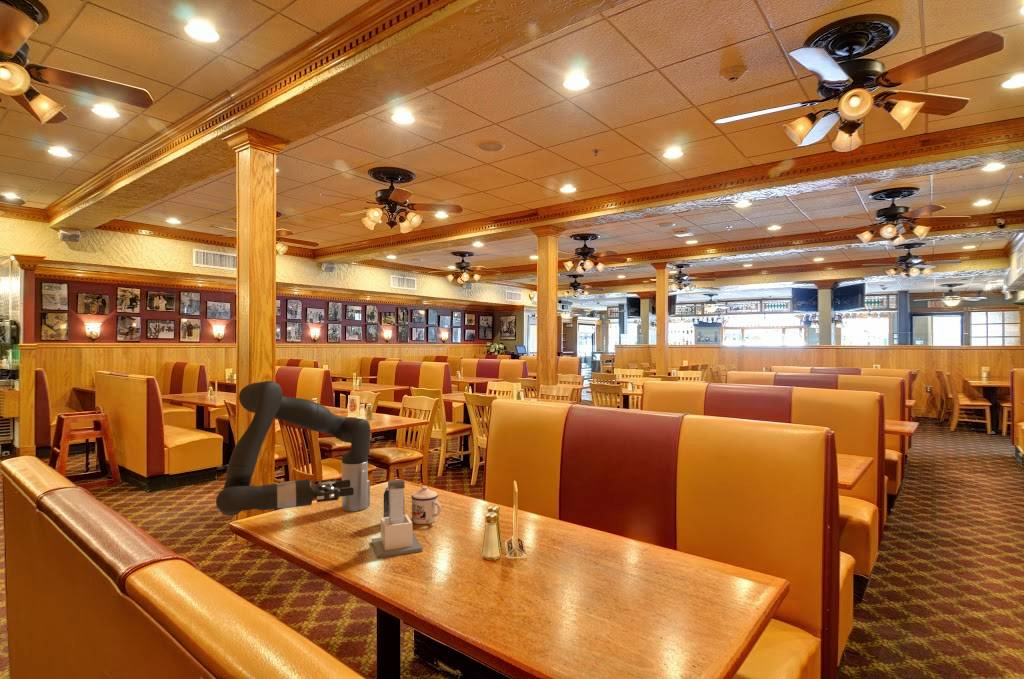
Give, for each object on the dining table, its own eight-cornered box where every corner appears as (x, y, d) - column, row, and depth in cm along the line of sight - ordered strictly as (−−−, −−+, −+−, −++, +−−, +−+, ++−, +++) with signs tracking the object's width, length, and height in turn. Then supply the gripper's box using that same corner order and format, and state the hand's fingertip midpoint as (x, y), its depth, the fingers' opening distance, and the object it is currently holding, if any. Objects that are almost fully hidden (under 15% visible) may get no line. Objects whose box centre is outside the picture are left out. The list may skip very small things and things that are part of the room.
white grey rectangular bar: (388, 539, 166) (387, 480, 165) (402, 537, 167) (402, 479, 167) (389, 542, 163) (389, 482, 163) (404, 540, 165) (404, 481, 164)
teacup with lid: (405, 521, 187) (405, 487, 187) (424, 514, 195) (424, 481, 194) (431, 528, 180) (431, 493, 180) (449, 520, 188) (449, 487, 188)
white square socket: (371, 541, 169) (371, 516, 169) (413, 536, 174) (413, 511, 173) (377, 558, 157) (377, 530, 157) (422, 551, 162) (422, 524, 161)
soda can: (406, 520, 188) (406, 485, 188) (400, 527, 181) (400, 491, 181) (387, 519, 189) (387, 485, 189) (380, 526, 182) (380, 491, 182)
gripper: (294, 487, 152) (354, 480, 158) (293, 474, 165) (348, 469, 171) (295, 514, 152) (354, 506, 159) (294, 499, 165) (349, 492, 172)
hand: (351, 487), depth 165 cm, fingers open, 8 cm apart
